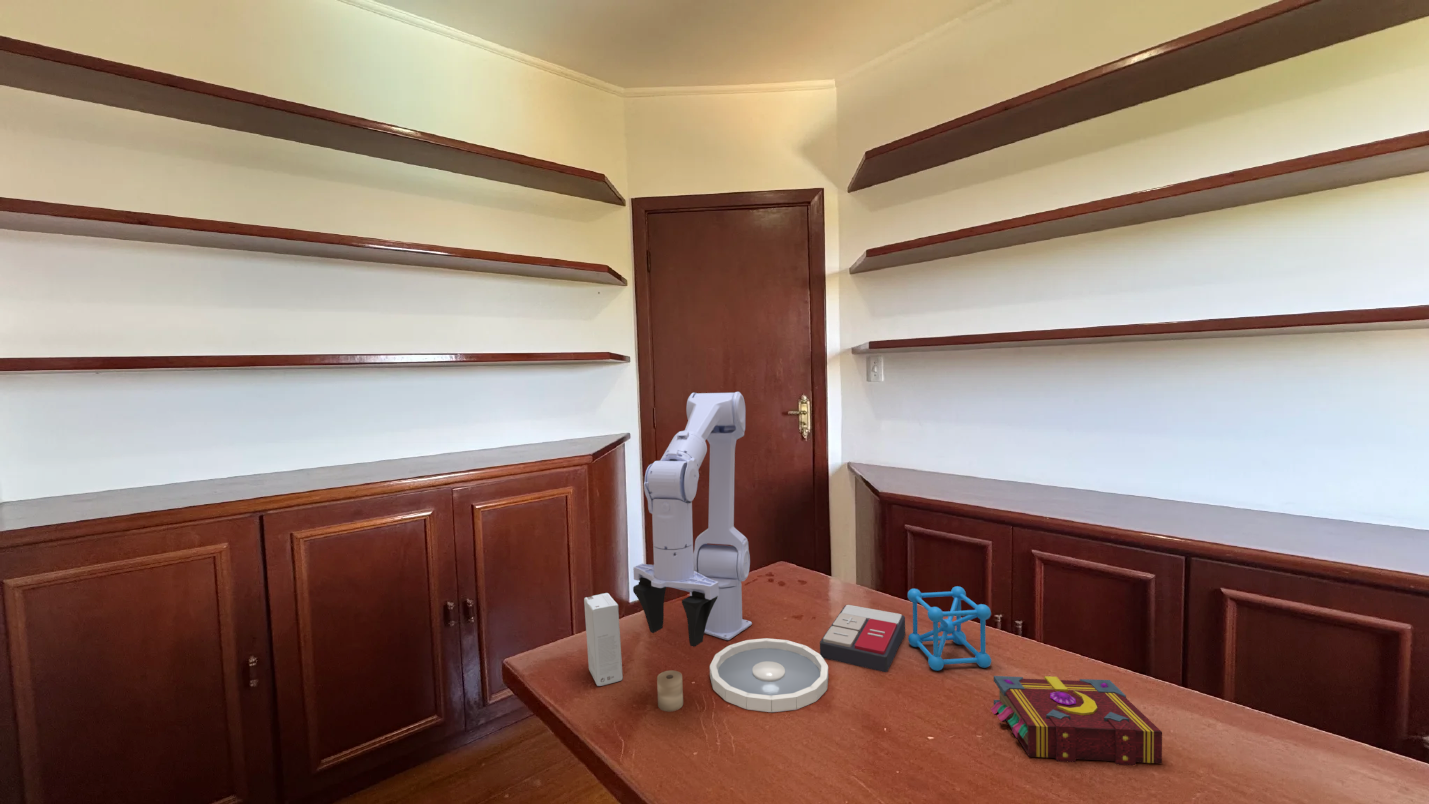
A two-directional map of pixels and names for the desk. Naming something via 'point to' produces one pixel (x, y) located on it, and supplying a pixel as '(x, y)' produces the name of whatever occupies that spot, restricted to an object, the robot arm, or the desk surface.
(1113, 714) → the decorative book
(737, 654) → the ring tray
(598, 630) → the skincare box
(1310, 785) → the desk surface
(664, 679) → the wooden bead
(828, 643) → the calculator
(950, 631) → the molecular structure
